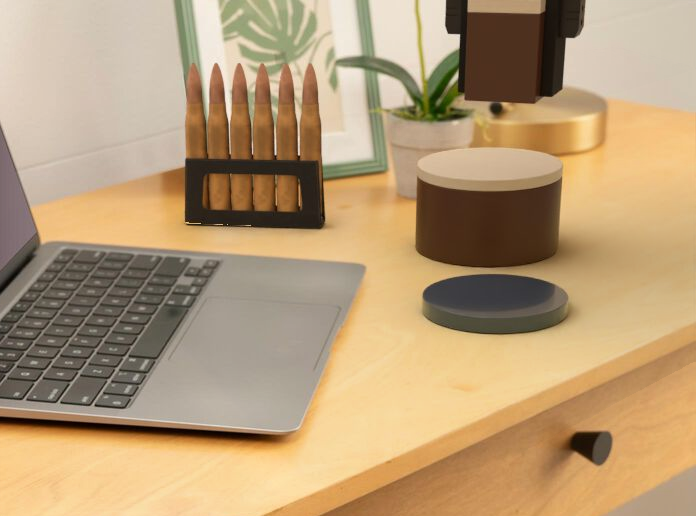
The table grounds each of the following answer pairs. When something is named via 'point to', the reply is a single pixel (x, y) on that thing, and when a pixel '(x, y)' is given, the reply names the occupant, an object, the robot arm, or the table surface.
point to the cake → (488, 206)
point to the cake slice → (504, 50)
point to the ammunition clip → (241, 165)
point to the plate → (495, 303)
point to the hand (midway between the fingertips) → (509, 89)
